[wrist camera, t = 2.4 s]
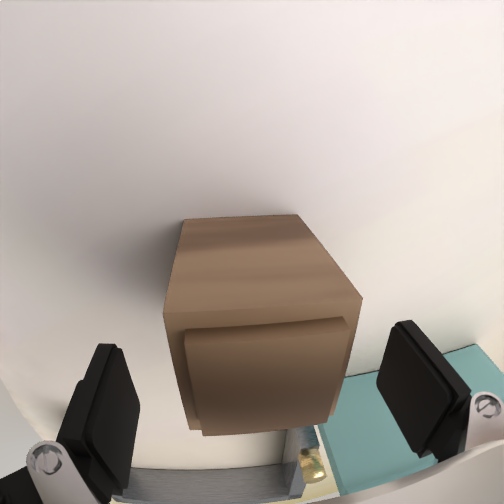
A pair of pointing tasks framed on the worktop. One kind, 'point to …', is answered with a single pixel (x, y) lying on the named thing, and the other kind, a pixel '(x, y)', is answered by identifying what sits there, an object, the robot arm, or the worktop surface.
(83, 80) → the worktop surface
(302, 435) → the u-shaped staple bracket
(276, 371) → the block
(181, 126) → the worktop surface
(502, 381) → the flat teal rectangular block
